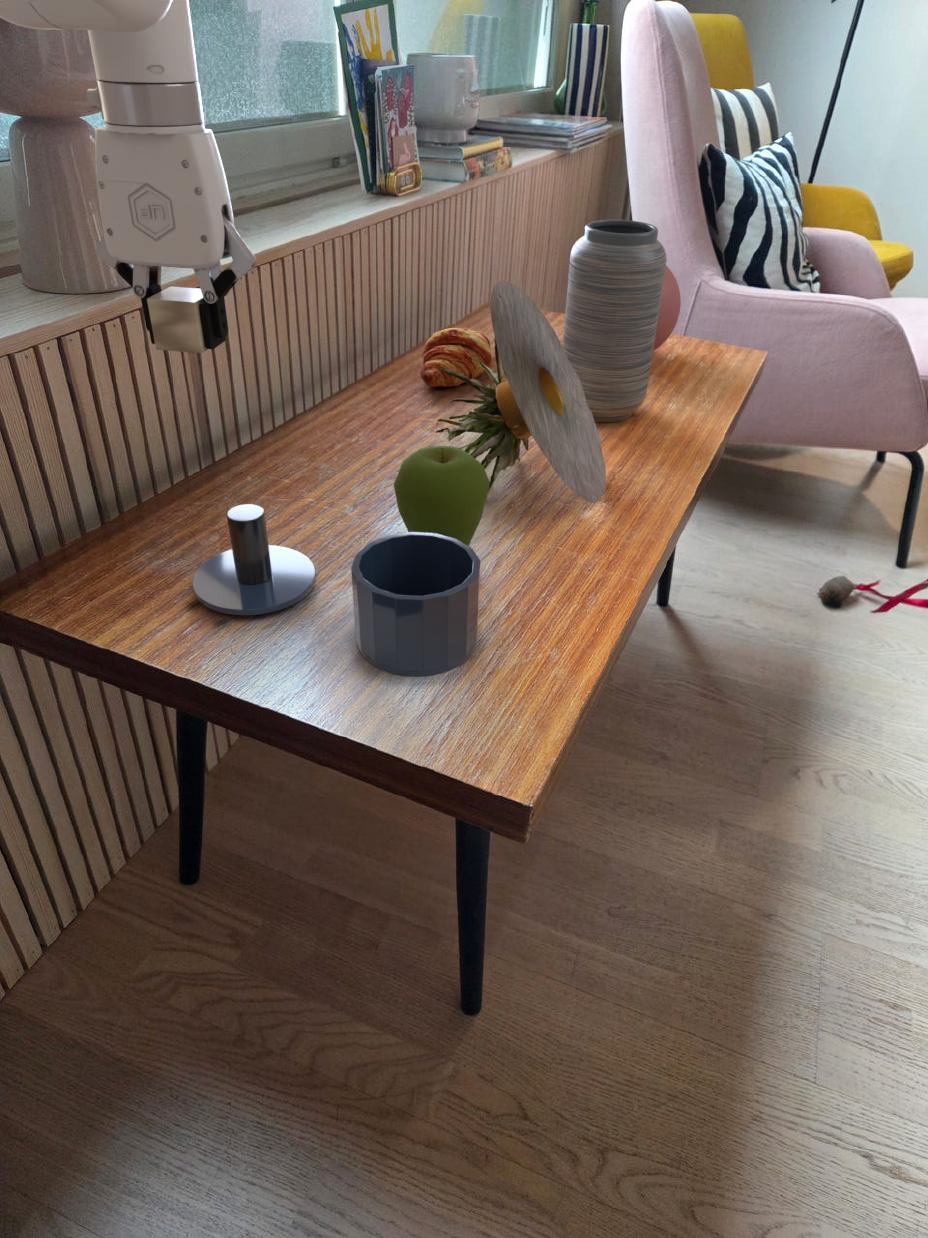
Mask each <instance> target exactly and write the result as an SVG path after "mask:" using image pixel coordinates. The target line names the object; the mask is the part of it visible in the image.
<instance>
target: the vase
mask: <svg viewBox="0 0 928 1238" xmlns="http://www.w3.org/2000/svg"><path fill="white" fill-rule="evenodd" d="M658 237H659V229H658V228H657V226H656V225H653V224H650V223H647V222H643V221H638V220H637V221H636V220H630V219H629V220H628V219H599V220H593V221H590V222H588V223H587V224H585V226H584V234H583V235H582V236H581V237H580V238H578V240H576V241H575V243H574V244H573V246H572V248H571V250H570V255H569V265H568V276H567V277H568V278H567V289H566V298H565V299H566V300H565V312H564V322H563V323H564V324H563V334H562V335H563V336H562V347H563V349H564V351H565V353H566V356H567V358H568V360H569V362H570V364H571V365H572V367H573V369H574V370H575V372H576V374H577V376H578V378H579V380H580V382H581V385H582V387H583V390H584V394H585V398H586V402H587V405H588V407H589V409H590V411H591V413H592V415H593V418H594V421H595V423H616V422H617V423H618V422H621V421H624V420H627V419H629V418H630V417H631V416H632V415H633V412H635V411H637V410H638V409H639V408H640V407H641V406H642V405H643V403H644V401H645V400H646V397H647V394H648V387H649V380H650V375H651V368H652V362H653V361H652V360H653V356H654V355H653V354H654V351H653V348H654V341H655V335H656V328H657V321H658V315H659V308H660V301H661V295H662V288H663V281H664V275H665V268H666V265H667V253H666V250H665V247H664V245H663V244H662V243H661V241H660V240H658Z"/></svg>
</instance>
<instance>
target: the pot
mask: <svg viewBox="0 0 928 1238" xmlns="http://www.w3.org/2000/svg"><path fill="white" fill-rule="evenodd" d="M350 570H351V587H352V603H353V617H354V632H355V639H356V644H357V648H358V651H359V653H360V654H361V655H362V657H363V658H364V659H365V660H366V661H367V662H368V663H369V664H371V665H372V666H374V667H376V668H378V669H379V670H381V671H384V672H387V673H389V674H393V675H398V676H405V677H428V676H434V675H440V674H443V673H446V672H448V671H451V670H453V669H456V668H457V667H459V666H461V665H463V663H465V662H466V661H468V660H469V659H470V657H471V656H472V655H473V653H474V651H475V649H476V648H477V644H478V632H479V610H480V609H479V608H480V585H481V583H480V580H481V560H480V558H479V556H478V555H477V553H476V552H475V550H474V549H473V548H472V547H471V546H470V545H469V546H467V545H466V544H464V543H462V542H461V541H459V540H457V539H455V538H452V537H448V536H444V535H440V534H437V533H424V532H408V531H406V532H401V533H400V532H399V533H394V534H388V535H385V536H383V537H380V538H377V539H375V540H372V541H370V542H368V543H367V544H366V545H364V546H363V547H362V548H361V549H360V550H358V551H357V552H356V553H355V555H354V558H353V561H352V564H351V567H350Z"/></svg>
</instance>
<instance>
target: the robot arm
mask: <svg viewBox="0 0 928 1238" xmlns="http://www.w3.org/2000/svg"><path fill="white" fill-rule="evenodd" d="M0 19H2V20H3V21H5V22H8V23H10V24H12V25H16V26H18V27H21V28H22V27H23V28H27V29H33V30H50V31H75V30H77V31H79V30H80V31H87V34H88V40H89V45H90V51H91V55H92V61H93V66H94V72H95V77H96V80H95V86H96V87H95V88H88V89H87V90H86V94H85V98H86V102H87V105H88V106H89V107H90V108H91V109H97V110H99V111H100V113H101V118H102V120H104V126H100V127H96V128H95V144H94V146H95V148H94V149H95V151H94V152H95V153H94V154H95V155H94V156H95V175H96V176H95V177H96V188H97V198H98V204H99V212H100V220H101V226H102V236H101V238H100V240H99V243H98V245H97V247H96V250H95V253H96V255H97V257H98V259H100V260H101V261H103V262H104V263H105V264H107V265H108V266H109V267H110V268H112V269H113V270H115V271H116V272H117V274H118V275H119V277H121V278H122V279H123V280H124V281H125V282H126V283H127V284H128V285H129V286H130V287H131V288H132V292H133V294H134V296H136V297H137V298H139V299H140V300H141V301H140V302H141V307H142V312H143V318H144V323H145V328H146V330H147V331H148V332H149V337H150V342H151V344H152V345H155V341H154V336H153V330H152V324H151V319H150V313H149V308H148V302H147V299H148V298H149V297H151V296H153V295H155V294H157V293H159V292H161V291H163V290H164V289H162V285H161V282H162V267H164V268H177V269H178V268H179V269H192V270H193V272H194V275H195V277H196V281H197V283H198V286H199V289H201V292H202V295H203V302H202V303H200V305H199V311H200V318H201V324H202V331H203V338H204V345H205V347H206V348H207V349H208V350H215V349H216V348H217V347H219V346H220V345H222V344H224V343H225V342H226V340H227V337H228V334H229V324H228V323H229V322H228V316H227V310H226V309H227V308H226V301H225V297H226V296H228V295H229V293H230V291H231V290H232V289H233V287H234V286H236V284H237V283H238V281H239V280H240V279H241V278H243V277H244V276H245V275H246V274H248V273H249V272H251V270H252V269H254V268H255V267H256V266H257V264H258V259H257V257H256V255H255V254H254V253H253V252H252V250H251V249H250V247H249V246H248V245H247V244H246V242H245V240H244V239H243V238H242V236H241V235H240V234H239V232H238V231H237V229H236V225H235V217H234V213H233V208H232V201H231V196H230V190H229V187H228V181H227V176H226V172H225V168H224V165H223V164H224V163H223V160H222V158H221V154H220V151H219V147H218V145H217V141H216V138H215V135H214V132H213V130H212V129H210V128H205V127H206V126H205V120H204V111H203V104H202V95H201V87H200V82H199V73H198V67H197V58H196V49H195V42H194V34H193V26H192V18H191V10H190V1H189V0H0ZM230 257H231V258H232V262H231V264H229V266H227V267H226V268H225V269H223V266H222V263H221V261H222V260H223V259H228V258H230Z"/></svg>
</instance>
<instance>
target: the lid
mask: <svg viewBox="0 0 928 1238" xmlns="http://www.w3.org/2000/svg"><path fill="white" fill-rule="evenodd" d="M226 520H227V526H228V527H227V528H228V533H229V539H230V545H231V549H228V550H225V551H222V552H221V553H218V554H216V555H214V556H212V557H210V558H209V559H208V560H206V561H204V562H203V563H202V564H201V565H200V566H199V567H198V568H197V570H196V571H195V573H194V574H193V577H192V581H191V585H192V591H193V595H194V596H195V598H196V599H197V601H199V602H200V604H202V605H203V606H204V607H206V608H208V609H210V610H212V611H215V612H217V613H221V614H225V615H226V614H227V615H230V616H231V615H233V616H256V615H265V614H269V613H274V612H277V611H280V610H284V609H287V608H289V607H290V606H293V605H295V604H296V603H298V602H300V601H301V600H303V599H304V598H305V597H306V596H307V595H308V594H310V592H311V591H312V589H313V588H314V586H315V583H316V581H317V580H316V579H317V575H316V567H315V565H314V563H313V561H312V560H311V559H310V558H309V557H308V556H307V555H306V554H304V553H303V552H300V551H298V550H296V549H293V548H291V547H287V546H282V545H275V544H269V537H268V530H267V521H266V513H265V510H264V508H263V507H262V506H260V505H257V504H253V503H252V504H251V503H246V504H245V503H244V504H243V503H242V504H239V505H236V506H233V507H231V508H230V509H229V510H227V512H226Z"/></svg>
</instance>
